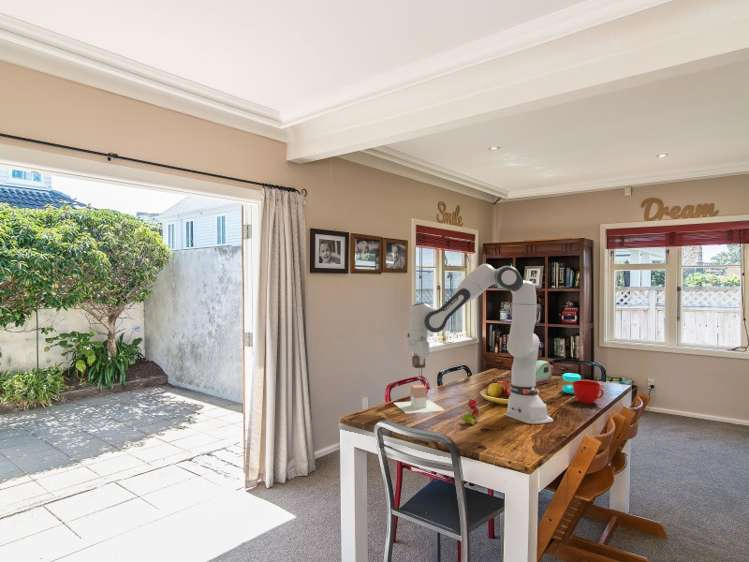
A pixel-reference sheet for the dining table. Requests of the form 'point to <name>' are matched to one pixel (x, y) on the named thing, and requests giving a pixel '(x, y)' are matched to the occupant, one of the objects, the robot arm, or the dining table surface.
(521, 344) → the robot arm
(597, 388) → the ceramic cup
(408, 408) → the baseplate
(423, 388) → the block
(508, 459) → the dining table surface
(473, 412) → the bird rattle
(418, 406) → the block
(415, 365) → the walnut cube
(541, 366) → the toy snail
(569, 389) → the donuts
